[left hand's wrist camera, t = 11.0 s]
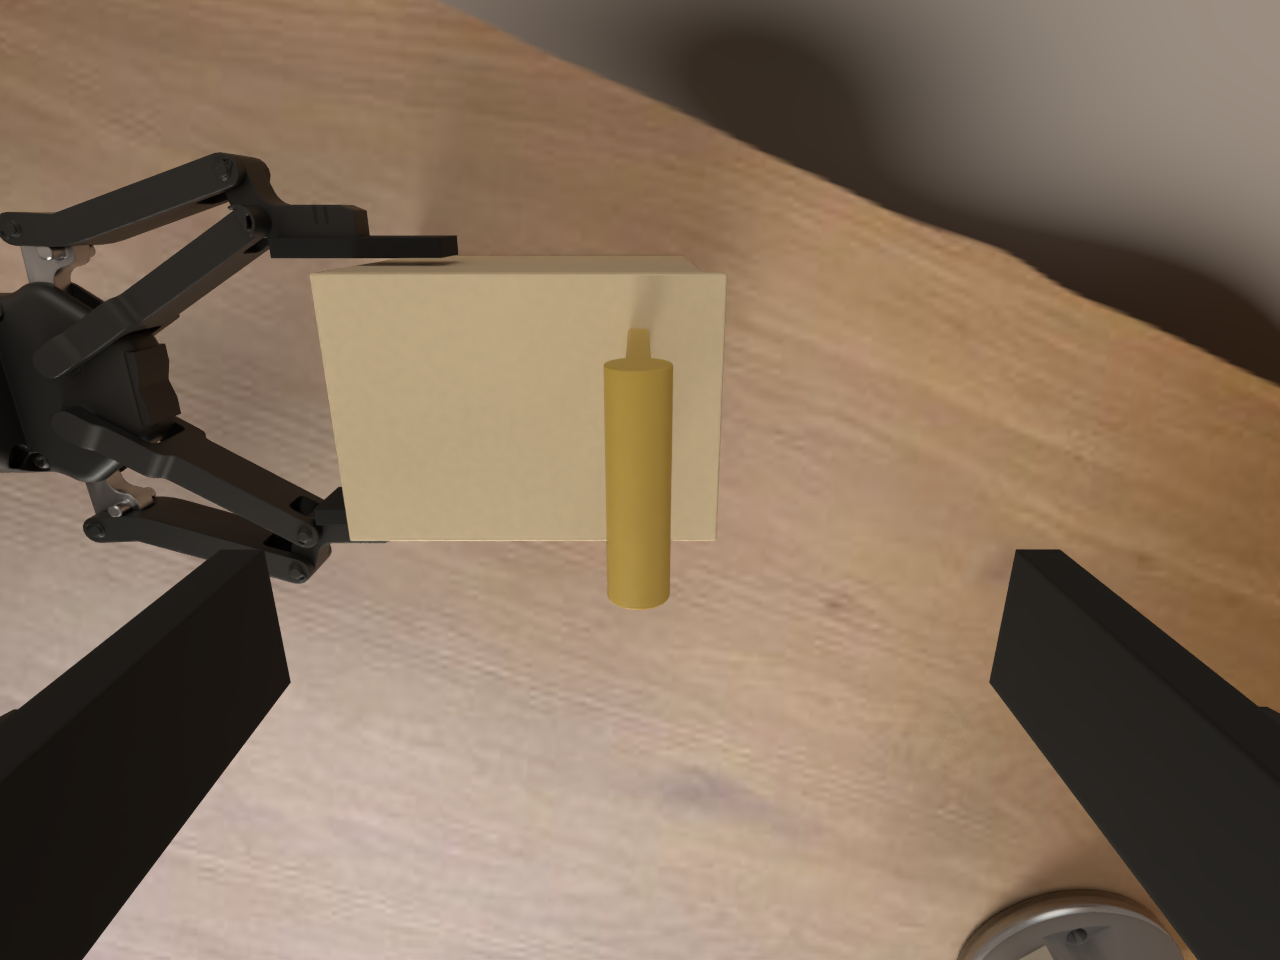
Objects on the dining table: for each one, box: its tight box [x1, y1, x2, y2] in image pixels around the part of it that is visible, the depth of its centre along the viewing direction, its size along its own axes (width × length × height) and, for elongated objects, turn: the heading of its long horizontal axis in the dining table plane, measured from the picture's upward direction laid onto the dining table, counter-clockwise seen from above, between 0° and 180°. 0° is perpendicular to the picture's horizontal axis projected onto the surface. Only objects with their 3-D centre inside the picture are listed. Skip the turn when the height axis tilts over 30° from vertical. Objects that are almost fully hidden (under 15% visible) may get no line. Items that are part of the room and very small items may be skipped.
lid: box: [310, 272, 727, 610], centre depth 22 cm, size 14×10×9 cm
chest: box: [323, 256, 702, 272], centre depth 32 cm, size 13×10×11 cm
